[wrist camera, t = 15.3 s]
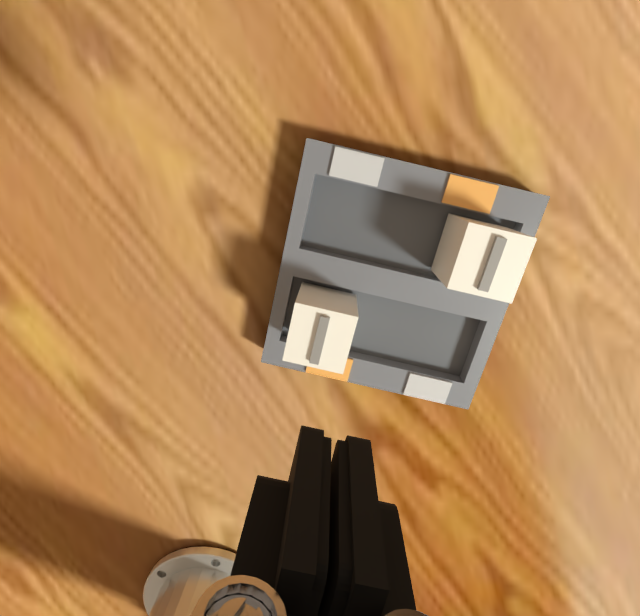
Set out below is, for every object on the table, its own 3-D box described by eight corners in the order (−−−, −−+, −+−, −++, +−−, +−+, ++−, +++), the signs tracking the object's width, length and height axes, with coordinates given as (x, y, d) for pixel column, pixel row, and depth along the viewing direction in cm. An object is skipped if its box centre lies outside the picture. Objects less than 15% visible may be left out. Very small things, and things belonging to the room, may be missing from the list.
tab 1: (485, 282, 31) (513, 305, 26) (430, 269, 31) (448, 289, 26) (505, 226, 29) (539, 239, 24) (448, 213, 29) (470, 222, 24)
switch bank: (460, 395, 35) (468, 410, 33) (265, 350, 35) (260, 363, 32) (535, 194, 30) (551, 196, 28) (309, 139, 30) (306, 137, 27)
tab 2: (342, 344, 33) (342, 376, 28) (291, 332, 33) (281, 362, 28) (356, 294, 31) (358, 318, 26) (302, 281, 31) (294, 303, 26)
